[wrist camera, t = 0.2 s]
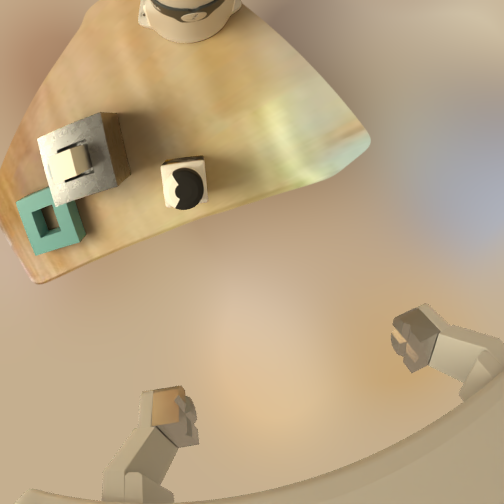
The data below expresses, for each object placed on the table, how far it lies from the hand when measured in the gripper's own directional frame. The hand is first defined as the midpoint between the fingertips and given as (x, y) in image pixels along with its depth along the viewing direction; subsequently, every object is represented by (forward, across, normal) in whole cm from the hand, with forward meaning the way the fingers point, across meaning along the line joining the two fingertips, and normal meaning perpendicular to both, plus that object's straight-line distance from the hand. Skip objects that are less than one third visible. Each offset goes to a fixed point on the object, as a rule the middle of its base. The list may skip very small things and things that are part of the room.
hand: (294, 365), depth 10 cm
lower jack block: (+47, +34, -1) cm, 58 cm away
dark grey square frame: (+47, +21, -9) cm, 52 cm away
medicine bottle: (+47, +6, +1) cm, 48 cm away
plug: (+41, +21, -9) cm, 47 cm away
